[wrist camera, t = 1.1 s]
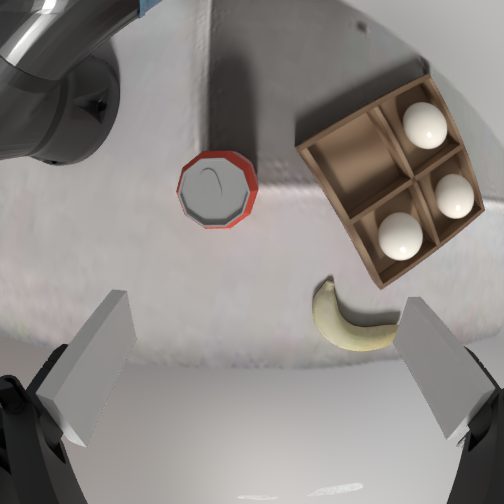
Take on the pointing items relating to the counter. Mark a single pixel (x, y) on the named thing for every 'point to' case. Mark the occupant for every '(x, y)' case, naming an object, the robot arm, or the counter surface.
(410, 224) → the egg
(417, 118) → the egg
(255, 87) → the counter surface
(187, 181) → the beverage can
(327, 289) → the fruit
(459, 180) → the egg
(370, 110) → the crate
